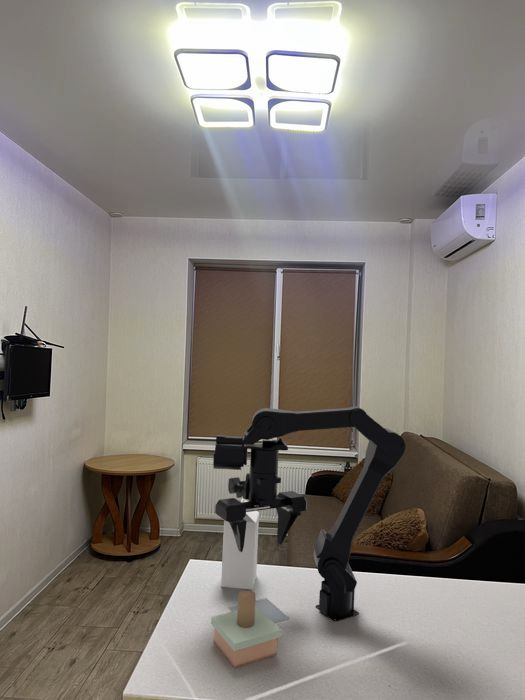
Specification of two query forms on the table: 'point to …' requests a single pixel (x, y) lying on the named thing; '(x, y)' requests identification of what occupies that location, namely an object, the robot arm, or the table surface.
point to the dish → (245, 651)
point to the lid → (245, 624)
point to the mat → (267, 610)
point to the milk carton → (240, 554)
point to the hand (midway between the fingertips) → (260, 547)
